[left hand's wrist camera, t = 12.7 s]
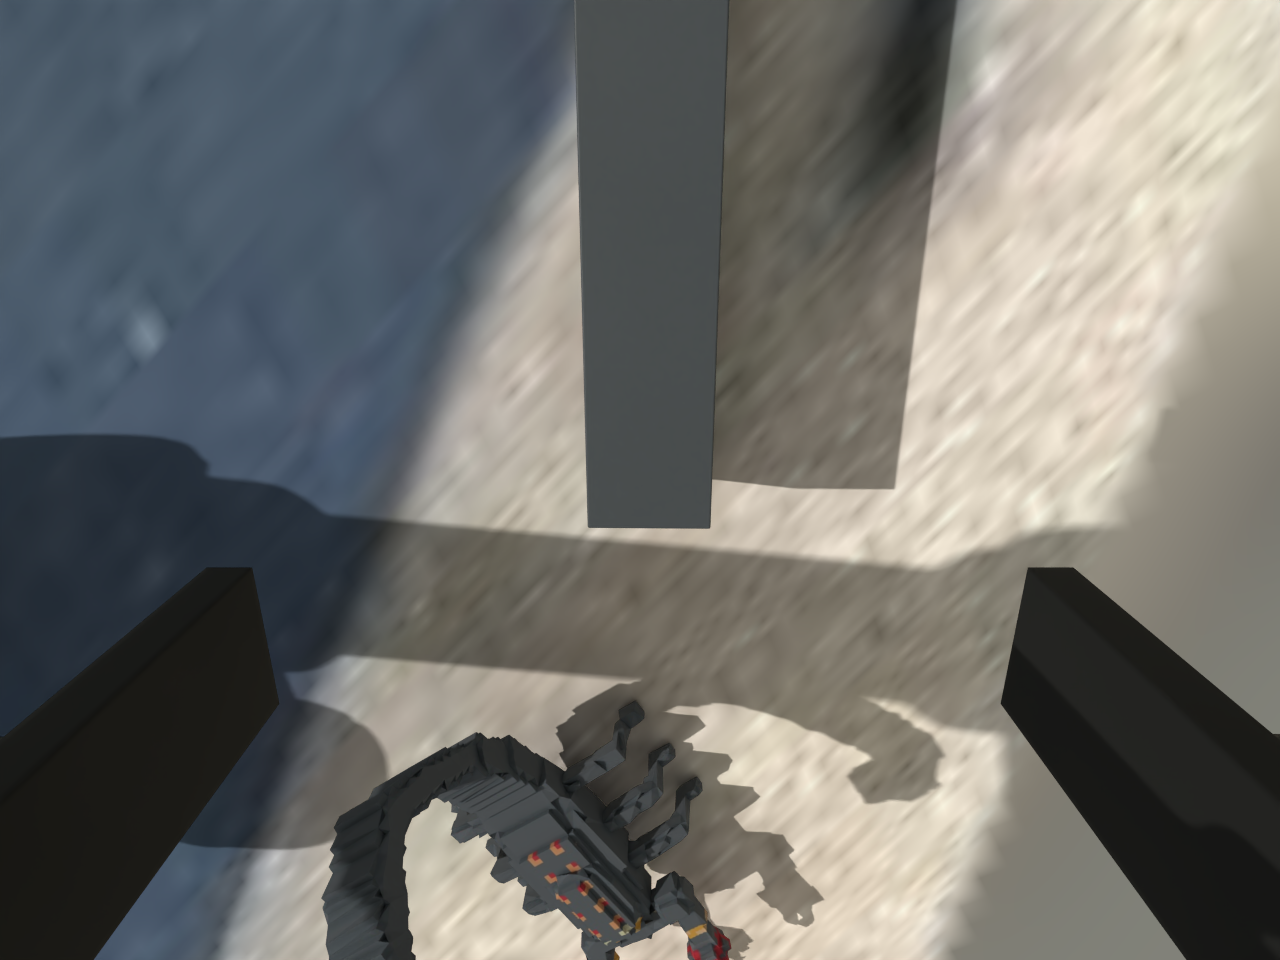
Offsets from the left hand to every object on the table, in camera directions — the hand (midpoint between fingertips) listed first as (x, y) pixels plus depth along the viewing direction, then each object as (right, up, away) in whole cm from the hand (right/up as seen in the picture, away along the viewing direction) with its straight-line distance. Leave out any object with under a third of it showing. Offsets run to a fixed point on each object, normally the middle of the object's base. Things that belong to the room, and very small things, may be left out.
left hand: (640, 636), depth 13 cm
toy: (-3, -17, +32) cm, 37 cm away
